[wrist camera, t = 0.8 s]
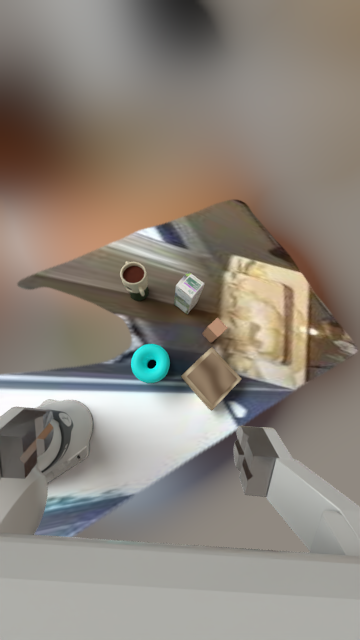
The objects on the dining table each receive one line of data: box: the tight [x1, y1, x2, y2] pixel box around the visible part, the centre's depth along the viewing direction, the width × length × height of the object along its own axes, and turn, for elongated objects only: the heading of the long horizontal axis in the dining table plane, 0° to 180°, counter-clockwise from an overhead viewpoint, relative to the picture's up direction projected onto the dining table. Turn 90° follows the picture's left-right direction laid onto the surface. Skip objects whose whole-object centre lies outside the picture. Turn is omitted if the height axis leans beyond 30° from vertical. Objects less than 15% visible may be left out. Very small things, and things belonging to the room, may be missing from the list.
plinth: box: [180, 348, 241, 410], centre depth 59 cm, size 12×12×5 cm
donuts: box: [131, 344, 170, 383], centre depth 57 cm, size 10×10×10 cm
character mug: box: [120, 261, 148, 301], centre depth 62 cm, size 11×7×13 cm, turn 28°
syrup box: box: [174, 272, 204, 314], centre depth 61 cm, size 6×6×14 cm
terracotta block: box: [202, 318, 227, 343], centre depth 61 cm, size 4×4×9 cm
